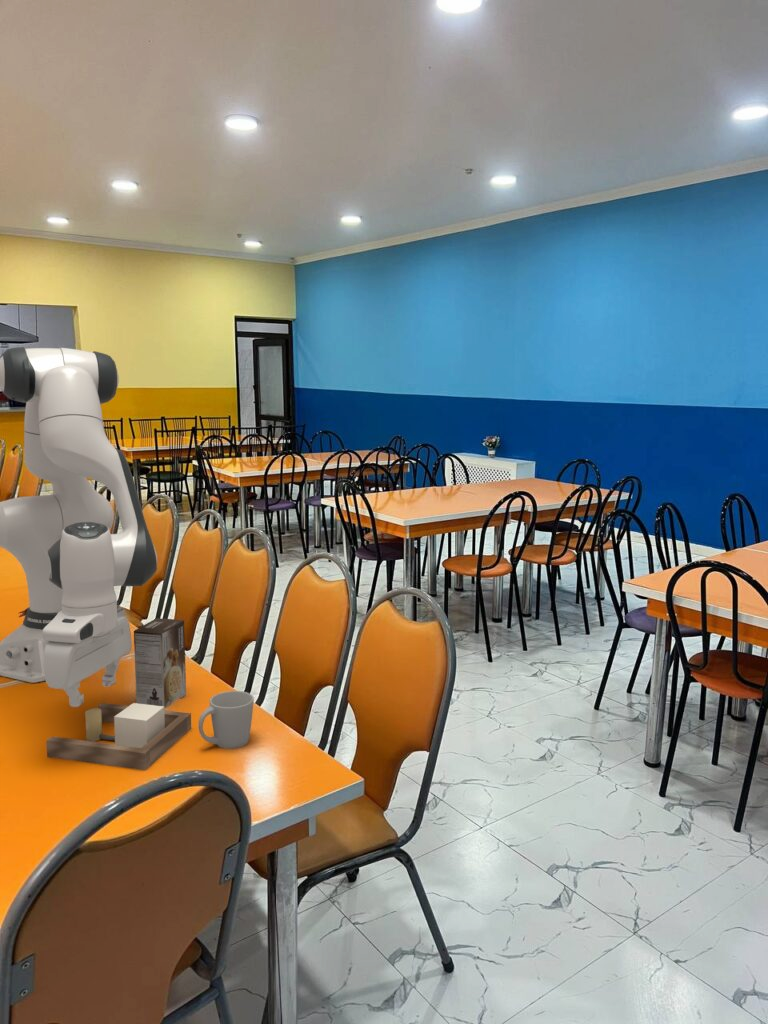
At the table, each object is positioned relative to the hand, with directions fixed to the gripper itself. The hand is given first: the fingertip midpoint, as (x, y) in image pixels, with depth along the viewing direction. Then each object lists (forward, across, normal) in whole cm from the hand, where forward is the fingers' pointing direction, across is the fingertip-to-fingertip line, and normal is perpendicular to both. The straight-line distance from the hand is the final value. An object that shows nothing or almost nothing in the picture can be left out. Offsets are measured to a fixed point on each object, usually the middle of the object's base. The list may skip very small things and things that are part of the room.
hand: (93, 694), depth 129 cm
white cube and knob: (+8, 0, +5) cm, 10 cm away
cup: (+9, -4, +23) cm, 25 cm away
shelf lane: (+9, 0, +5) cm, 10 cm away
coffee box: (+9, -19, +2) cm, 21 cm away
